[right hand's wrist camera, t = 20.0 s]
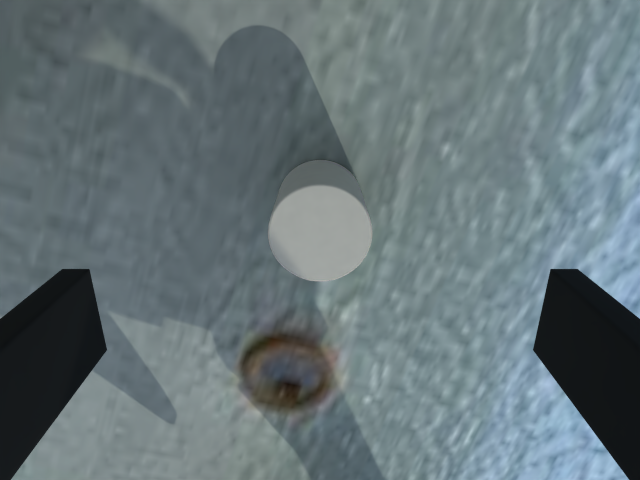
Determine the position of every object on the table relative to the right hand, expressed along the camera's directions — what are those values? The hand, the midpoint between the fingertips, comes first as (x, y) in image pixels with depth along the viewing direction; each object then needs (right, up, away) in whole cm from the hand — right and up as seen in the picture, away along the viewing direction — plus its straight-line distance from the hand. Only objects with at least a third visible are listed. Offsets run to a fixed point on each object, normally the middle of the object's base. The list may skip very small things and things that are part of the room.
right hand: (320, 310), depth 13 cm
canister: (0, +4, +10) cm, 10 cm away
